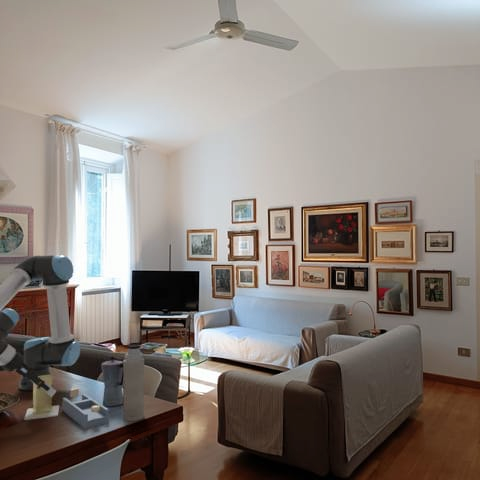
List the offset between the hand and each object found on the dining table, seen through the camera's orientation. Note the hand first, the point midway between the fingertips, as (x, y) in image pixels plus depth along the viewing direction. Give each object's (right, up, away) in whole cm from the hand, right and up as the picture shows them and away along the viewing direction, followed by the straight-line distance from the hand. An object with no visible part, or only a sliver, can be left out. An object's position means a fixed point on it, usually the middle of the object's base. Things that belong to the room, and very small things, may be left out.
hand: (48, 390), depth 176 cm
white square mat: (-2, -9, -2) cm, 9 cm away
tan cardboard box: (-2, -8, -2) cm, 9 cm away
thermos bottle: (+36, -8, -7) cm, 38 cm away
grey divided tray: (+17, -8, -6) cm, 20 cm away
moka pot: (+24, -9, +9) cm, 27 cm away
